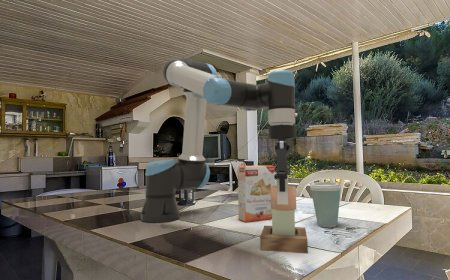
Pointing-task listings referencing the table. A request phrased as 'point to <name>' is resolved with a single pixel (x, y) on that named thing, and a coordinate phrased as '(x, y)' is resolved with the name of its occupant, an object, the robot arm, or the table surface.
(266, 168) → the cracker box
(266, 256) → the table surface
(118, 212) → the table surface
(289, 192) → the peach block
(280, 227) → the sage block
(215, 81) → the robot arm
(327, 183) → the disposable coffee cup
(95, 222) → the table surface
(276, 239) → the walnut base
